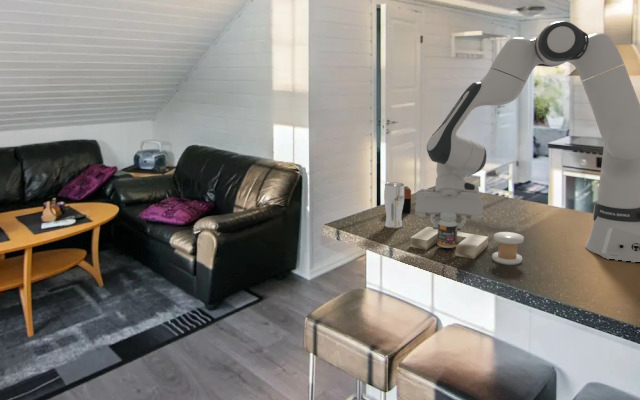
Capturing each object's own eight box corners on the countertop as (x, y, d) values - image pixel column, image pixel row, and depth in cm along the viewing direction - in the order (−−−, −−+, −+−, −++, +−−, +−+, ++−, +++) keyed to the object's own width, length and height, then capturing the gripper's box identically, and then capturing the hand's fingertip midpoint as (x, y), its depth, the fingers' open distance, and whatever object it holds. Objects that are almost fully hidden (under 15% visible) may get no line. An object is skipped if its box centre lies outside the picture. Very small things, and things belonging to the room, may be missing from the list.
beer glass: (401, 222, 181) (402, 181, 177) (405, 228, 174) (406, 186, 171) (382, 223, 181) (382, 182, 177) (385, 229, 174) (386, 186, 170)
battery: (391, 210, 197) (391, 185, 195) (408, 210, 197) (409, 185, 195) (392, 213, 193) (393, 187, 191) (410, 213, 193) (411, 187, 191)
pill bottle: (437, 248, 152) (438, 216, 150) (437, 241, 158) (438, 211, 155) (456, 249, 151) (458, 217, 149) (456, 242, 156) (457, 212, 154)
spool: (525, 257, 146) (527, 234, 144) (517, 266, 139) (519, 242, 138) (496, 252, 150) (498, 230, 148) (488, 261, 144) (490, 237, 142)
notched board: (487, 246, 156) (488, 236, 155) (474, 259, 146) (474, 249, 145) (427, 235, 167) (427, 226, 166) (410, 246, 157) (410, 237, 156)
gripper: (415, 183, 159) (412, 222, 153) (483, 186, 154) (483, 226, 147) (416, 194, 165) (413, 231, 158) (482, 196, 159) (481, 236, 153)
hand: (447, 229), depth 153 cm, fingers closed on pill bottle, 6 cm apart
